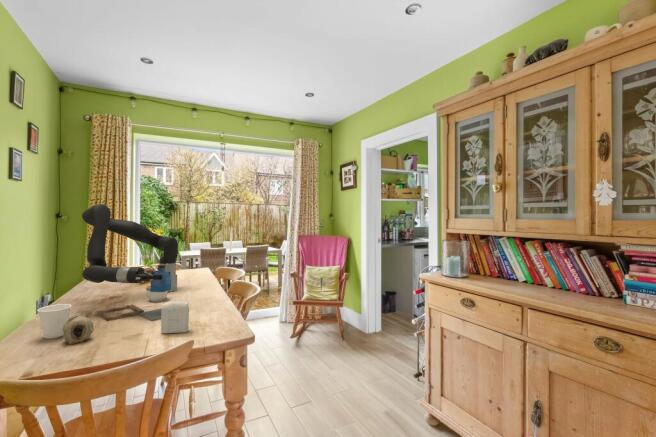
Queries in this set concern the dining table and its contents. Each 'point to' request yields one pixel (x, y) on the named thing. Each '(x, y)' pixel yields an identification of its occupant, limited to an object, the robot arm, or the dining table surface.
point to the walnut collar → (107, 317)
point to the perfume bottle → (161, 281)
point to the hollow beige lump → (77, 329)
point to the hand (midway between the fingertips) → (165, 275)
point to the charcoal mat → (152, 314)
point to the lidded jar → (155, 295)
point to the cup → (53, 319)
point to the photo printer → (174, 317)
